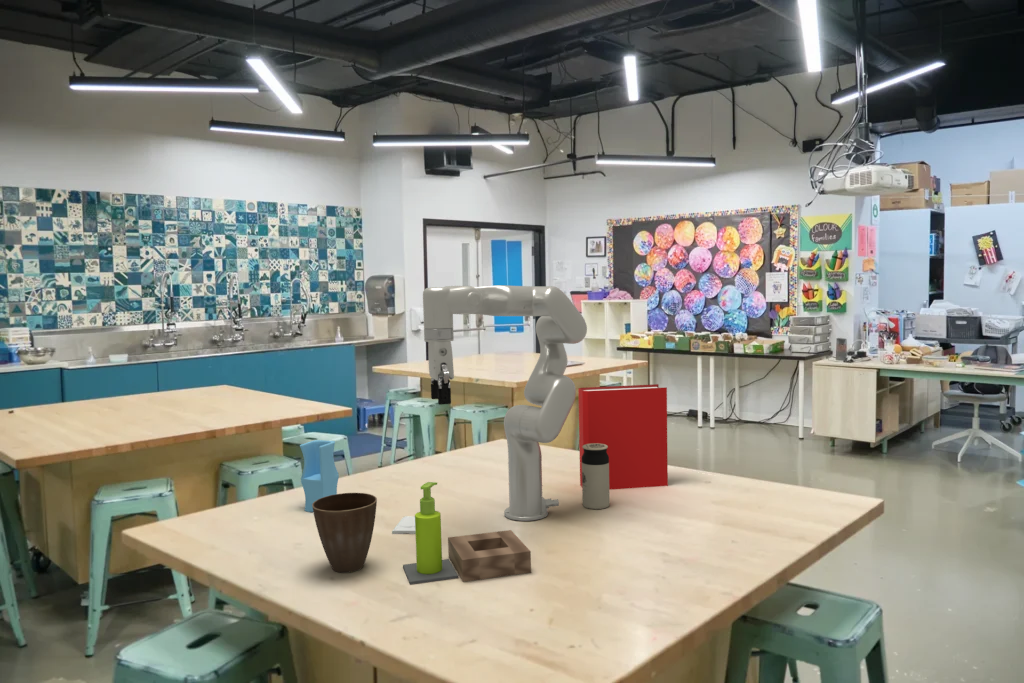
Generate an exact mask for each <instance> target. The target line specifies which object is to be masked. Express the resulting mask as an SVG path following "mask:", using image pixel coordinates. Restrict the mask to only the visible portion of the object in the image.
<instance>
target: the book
mask: <svg viewBox="0 0 1024 683" xmlns="http://www.w3.org/2000/svg"><path fill="white" fill-rule="evenodd" d="M578 433H579V434H578V435H579V436H578V439H579V448H578V449H579V486H580V488H582V455H583V453H584V449H583V447H582V446H583V445H585V444H591V443H599V444H605V445H607V446H608V448H607V454H608V456H609V491H610V490H624V489H639V488H640V489H641V488H653V487H668V485H669V482H668V480H669V478H668V476H669V475H668V474H669V473H668V469H669V468H668V467H669V466H668V388H667V387H659V383H656V384H636V385H635V384H633V385H615V386H614V385H613V386H612V385H611V386H608V385H607V386H590V387H587V386H586V387H579V388H578Z"/></svg>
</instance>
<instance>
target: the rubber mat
mask: <svg viewBox="0 0 1024 683" xmlns="http://www.w3.org/2000/svg"><path fill="white" fill-rule="evenodd" d="M402 568H403V571H404V573H405V576H406V578H407V582H408V583H409V585H415V584H424V583H430V582H431V583H433V582H439V581H446V580H455V579H459V574H458V573H457V571H456V569H455V568H454V566H453V564H452V562H451V561H450V559H449V558H446V559H442V570H441V571H440V572H438V573H434V574H421V573H419V572H417V562H413V563H405V564H402Z"/></svg>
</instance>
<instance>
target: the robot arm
mask: <svg viewBox="0 0 1024 683" xmlns="http://www.w3.org/2000/svg"><path fill="white" fill-rule="evenodd" d="M422 306H423V307H422V308H423V309H422V312H423V339H424V340H423V341H424V342H426V343H428V344H427V345H428V371H429V372H428V373H429V377H430V398H431V399H432V400H437V403H438V405H441V406H442V405H451V404H452V394H451V393H452V392H451V391H452V390H451V381H450V380H454V378H455V373H454V372H455V370H454V357H453V347H452V342H453V341H455V340H454V315H465V316H466V315H480V316H481V315H483V316H491V317H539V318H538V319H537V320H536V324H535V333H536V336H537V339H538V344H539V349H540V353H539V357H538V360H537V361H536V364H535V366H534V368H533V369H532V372H531V374H530V376H529V378H528V380H527V382H526V384H525V386H524V390H523V396H524V398H525V400H526V401H527V402H528V403H530V404H531V405H527V404H516V405H514V406H511V407H510V408H509V409H508V410H507V411H506V413H505V415H504V419H503V428H504V434H505V437H506V442H507V456H508V458H507V460H508V463H507V464H508V466H507V467H508V494H509V495H508V496H509V498H508V499H509V504H508V505H509V506H508V507H506V509H504V510H503V512H504V513H503V515H504V517H505V518H507V519H509V520H512V521H519V522H526V521H527V522H529V521H530V522H531V521H537V520H541V519H544V518H546V517H548V515H549V510H548V509H549V508H550V507H558V506H560V501H559V499H552V498H544V497H543V469H542V467H543V466H542V461H543V458H542V456H543V455H542V450H541V445H540V443H542V444H547V443H549V444H550V443H552V442H553V441H554V440H555V439H556V438H557V437H558V436H559V435H560V433H561V431H562V428H563V427H564V425H565V422H566V421H567V418H568V416H569V414H570V412H571V411H572V408H573V406H574V403H575V401H576V394H577V390H576V389H577V388H576V384H575V383H574V381H573V380H572V378H570V377H569V376H567V375H564V374H565V372H566V369H567V367H568V355H567V351H566V348H565V345H564V344H567V345H569V344H570V345H571V344H572V345H574V344H579V343H580V342H582V341H583V340H584V339H585V337H586V335H587V332H588V328H587V327H588V326H587V323H586V320H585V318H584V316H583V315H582V313H581V312H580V311H579V310H578V309H577V307H576V305H574V303H573V301H572V300H571V299H570V298H569V297H568V295H566V294H565V292H564V291H563V290H562V289H560V288H558V287H556V286H553V285H549V286H547V285H546V286H545V285H544V286H543V285H542V286H541V285H540V286H538V285H537V286H533V285H530V286H529V285H528V286H527V285H506V284H505V285H502V284H501V285H487V286H471V285H447V286H446V285H445V286H439V287H437V286H435V287H431V286H430V287H426V288H425V289H424V290H423V291H422ZM534 405H535V406H534ZM539 406H541V407H539Z"/></svg>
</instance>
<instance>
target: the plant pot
mask: <svg viewBox="0 0 1024 683" xmlns="http://www.w3.org/2000/svg"><path fill="white" fill-rule="evenodd" d="M377 501H378V499H377V497H376V496H375V495H373V494H369V493H366V492H346V493H345V492H344V493H337V494H335V495H330V496H326V497H323V498H320V499H318V500H316V501H315V502H314V503H313V504H312V507H313V512H312V513H313V516H314V521H315V526H316V529H317V533H318V536H319V539H320V542H321V545H322V548H323V550H324V553H325V557H326V558H327V560H328V563H329V565H330V567H331V569H332V571H333V572H335V573H336V572H337V573H341V574H342V573H343V574H344V573H353V572H357V571H360V570H361V569H362V568H364V567H365V562H366V560H367V556H368V554H369V551H370V546H371V543H372V537H373V533H374V528H375V521H376V516H377V515H376V514H377V513H376V512H377V503H378V502H377Z"/></svg>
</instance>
